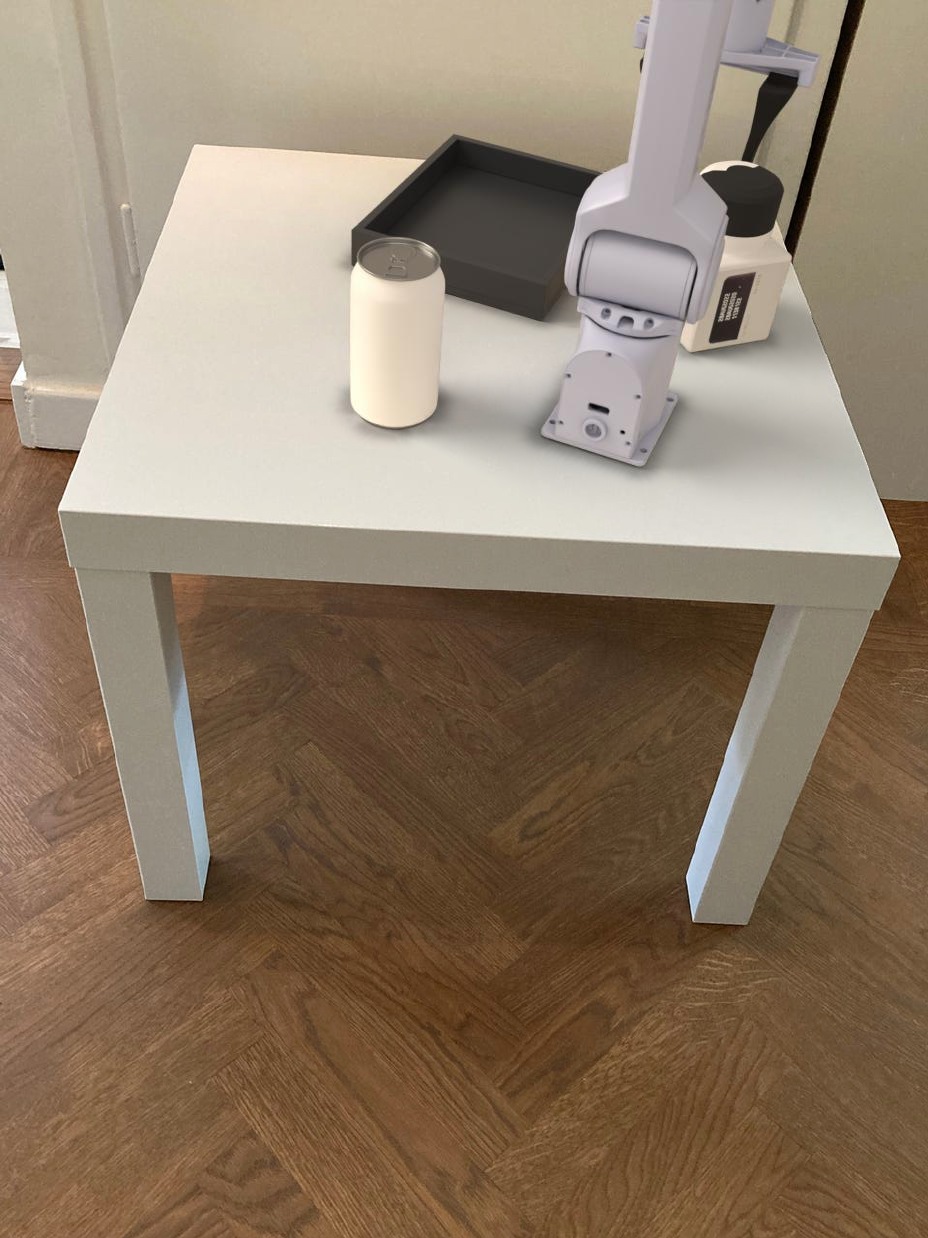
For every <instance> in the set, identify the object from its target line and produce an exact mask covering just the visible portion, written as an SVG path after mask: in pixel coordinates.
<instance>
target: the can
mask: <svg viewBox="0 0 928 1238" xmlns="http://www.w3.org/2000/svg"><path fill="white" fill-rule="evenodd" d="M440 263H441V259H440V256H439V254H438V252H437V251H436V250H435V249H434V248H433V247H431V246H430V245H428V244H426V243H424V242H421V241H418V240H415V239H411V238H404V237H386V238H380V239H376V240H373V241H370V242H368V243H366V244H365V245H363V246H362V247H361V248H360V250H359V251H358V253H357V263H356V265H355V266H353V269H352V271H351V275H350V290H349V291H350V297H349V298H350V299H349V300H350V302H349V303H350V304H349V305H350V306H349V308H350V309H349V311H350V313H349V318H350V319H349V321H350V322H349V323H350V324H349V337H350V338H349V343H350V344H349V350H350V351H349V360H350V361H349V368H350V369H349V370H350V371H349V372H350V374H349V379H350V382H349V384H350V390H349V391H350V392H349V393H350V404H351V406H352V409H353V410H354V412H355V413H356V414H358V416H359V417H361V419H363V420H364V421H366V422H367V423H369V424H371V425H374V426H376V427H380V428H384V429H396V430H397V429H398V430H399V429H408V428H412V427H415V426H418V425H419V424H422V423H423V422H425V421H427V420H428V418H430V417H431V416H433V414H434V412H436V409H437V406H438V399H439V386H440V374H441V373H440V372H441V357H442V344H443V331H444V330H443V329H444V313H445V312H444V311H445V297H446V293H445V278H444V275H443V272H442V270H441V268H440Z"/></svg>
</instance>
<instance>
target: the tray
mask: <svg viewBox="0 0 928 1238" xmlns="http://www.w3.org/2000/svg"><path fill="white" fill-rule="evenodd" d="M603 173H604V172H603V171H599V170H595V169H590V168H586V167H583V166H579V165H576V164H571V163H567V162H563V161H560V160H556V159H552V158H547V157H544V156H541V155H537V154H532V153H530V152H525V151H521V150H517V149H513V148H510V147H506V146H502V145H499V144H495V143H490V142H487V141H482V140H478V139H475V138H471V137H468V136H464V135H461V134H455V133H453V134H452V135H451V136H449V138H447V140H446V141H444V142H443V144H441V145H440V146H439V147H438V148H437V149H436V150H435V151H434V152H432V153H431V155H429V156H428V158H426V160H424V161H423V162H422V163H421V164H420V165H419V166H418V167H416V168H415V170H413V171H412V172H411V174H409V175H408V176H407V177H406V178H405V179H404V180H403V181H402V182H401V183H400V184H398V185H397V187H396V188H394V189H393V190H392V191H391V192H390V193H389V194H388V195H387V196H386V197H385V198H384V199H383V200H382V201H381V202H380V203H378V204H377V205H376V206H375V207H373V209H372V210H371V211H370V212H369V213H368V214H366V216H365V217H364V218H363V219H362V220H361V221H359V222H358V223H357V224H356V225H355V226H354V227H352V229H351V233H350V234H351V242H350V246H351V248H350V249H351V250H350V251H351V252H350V253H351V255H350V257H351V260H350V263H351V266H353V267H355V265H356V263H357V253H358V251H359V250H360V248H361V247H362V246H363V245H365V244H366V243H368V242H370V241H373V240H376V239H380V238H386V237H404V238H411V239H415V240H418V241H421V242H424V243H426V244H428V245H430V246H431V247H433V248H434V249H435V250H436V251H437V252H438V254H439V256H440V259H441V263H440V268H441V270H442V272H443V275H444V278H445V294H448V295H451V296H455V297H458V298H461V299H465V300H468V301H471V302H475V303H478V304H482V305H485V306H489V307H493V308H496V309H499V310H503V311H506V312H508V313H512V314H516V315H518V316H519V315H520V316H523V317H526V318H529V319H532V320H536V321H540V322H543V321H544V320H545V318H546V316H547V315H548V314H549V312H550V311H551V310H552V308H553V307H554V305H555V304H556V303H557V301H558V300H559V299H560V297H561V296H562V294H563V293H564V292H565V290H566V289H567V286H566V285H565V281H564V275H565V265H566V259H567V254H568V249H569V245H570V241H571V237H572V234H573V230H574V227H575V220H576V214H577V211H578V208H579V205H580V203H581V200H582V198H583V196H584V194H585V192H586V190H587V189H588V187H589V186H590V185H591V184H592V182H593V181H594V179H595V178H597V177H598V176H599V175H601V174H603Z"/></svg>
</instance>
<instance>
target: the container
mask: <svg viewBox="0 0 928 1238" xmlns="http://www.w3.org/2000/svg"><path fill="white" fill-rule="evenodd" d="M699 174H700V175H701V176H702V178H703V179H704V180H705V181H706V182H707V183H708V185H709V186H710V187H711V188H712V189H713V190H714V191H715V192H716V193H717V194H718V196H719V197H720V198H721V199H722V200H723V202H724V203H725V204H726V206H727V212H726V215H727V216H728V218H729V220H728V224H727V228H726V233H725V237H724V239H725V247H724V251H723V255H722V259H721V263H720V267H719V271H718V275H717V278H716V282H715V285H714V289H713V292H712V295H711V299H710V302H709V305H708V308H707V311H706V314H705V316H704V318H703V319H701V320H699V321H697V322H696V324H694V325H692V324H689V323H685V325H684V328H683V332H682V336H681V340H680V344H681V345H682V347H683V348H684V349H685V350H686V351H687V352H688V353H695V352H701V351H706V350H713V349H717V348H718V349H719V348H724V347H731V346H736V345H740V344H741V345H742V344H746V343H753V342H759V341H764V340H766V339H768V337H769V335H770V331H771V329H772V325H773V322H774V318H775V316H776V312H777V309H778V306H779V302H780V299H781V296H782V293H783V290H784V286H785V283H786V279H787V276H788V273H789V270H790V266H791V263H792V259H793V256H792V254H791V253H790V252H788V251H787V249H785V248H784V247H783V246H782V245H781V244H780V243H779V242H778V241H777V240H775V239H774V238H773V237H772V235H773V232H774V228H775V225H776V222H777V218H778V214H779V211H780V208H781V204H782V200H783V197H784V194H785V187H784V185H783V183H782V180H781V179H780V177H779V176H777V174H776V173H774V172H772V171H771V170H769V169H767V168H765V167H763V166H761V165H759V164H756V163H754V162H753V163H749V162H744V161H741V160H725V161H718V162H714V163H711V164H709V165H708V166H706V167H705V168H703V170H701V172H699ZM686 322H687V320H686Z"/></svg>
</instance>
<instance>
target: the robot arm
mask: <svg viewBox="0 0 928 1238" xmlns="http://www.w3.org/2000/svg"><path fill="white" fill-rule="evenodd" d="M775 4H776V0H652V3H651V9H650V15H648V14H643V15H641V16H640V18H638V19H637V21H635V28H634V33H633V38H632V44H631V46H632V48H635V49H639V50H644V52H643V56H642V57H641V58H640V60H639V72H640V79H639V86H638V93H637V99H636V105H635V112H634V117H633V118H634V119H633V126H632V131H631V138H630V144H629V150H628V157H627V162H625V163H622V164H621V165H618V166H616V167H613V168H612V169H610V170H607V171H606V172H602V173H603V174H601V175H599V176H598V177H597V178H595V179H594V181H593V182H592V184H591V185H590V186H589V187H588V189H587V190H586V192H585V194H584V196H583V198H582V200H581V203H580V205H579V208H578V211H577V214H576V220H575V227H574V230H573V234H572V237H571V241H570V245H569V249H568V254H567V259H566V265H565V275H564V281H565V285H566V286H567V287H566V289H567V290H568V294H569V295H570V296H573V297H578V300H577V307H576V312H577V313H579V314H581V316H580V321H579V326H578V327H579V328H578V334H577V339H576V345H575V349H574V351H573V353H572V354H571V356H570V357H569V359H568V360H567V362H566V364H565V367H564V370H563V374H562V380H561V386H560V392H559V399H558V402H557V404H556V405H555V407H554V408H553V410H552V411H551V413H550V414H549V416H548V417H547V419H546V420H545V422H544V424H543V425H542V427H541V428H540V429H541V430H540V434H541V436H543V437H545V438H547V439H550V440H554V441H557V442H559V443H563V444H565V445H569V446H572V447H575V448H579V449H581V450H584V451H588V452H591V453H594V454H598V455H601V456H604V457H607V458H609V459H610V458H611V459H612V460H613V459H614V460H617V461H619V462H623V463H626V464H629V465H631V466H636V467H644V466H645V465H646V464H647V461H648V460H649V457H650V456H651V454H652V452H653V450H654V448H655V446H656V444H657V443H658V440H659V439H660V437H661V435H662V432H663V430H664V429H665V427H666V424H667V423H668V421H669V419H670V417H671V415H672V413H673V411H674V410H675V407H676V406H677V403H678V401H679V396H678V394H676V393H674V392H671V391H669V389H670V384H671V381H672V378H673V377H672V376H673V373H674V369H675V364H676V360H677V356H678V351H679V347H680V344H681V343H680V340H681V336H682V332H683V328H684V325H685V323H689V324H692V325H694V324H696V322H697V321H699V320H701V319H703V318H704V316H705V314H706V311H707V308H708V305H709V302H710V299H711V295H712V292H713V289H714V285H715V282H716V278H717V275H718V271H719V267H720V263H721V259H722V255H723V251H724V247H725V239H724V237H725V233H726V228H727V224H728V220H729V218H728V216H727V215H726V212H727V206H726V204H725V203H724V202H723V200H722V199H721V198H720V197H719V196H718V194H717V193H716V192H715V191H714V190H713V189H712V188H711V187H710V186H709V185H708V183H707V182H706V181H705V180H704V179H703V178H702V176H701V175H700V172H699V165H700V161H701V156H702V151H703V147H704V146H703V145H704V142H705V138H706V137H705V136H706V132H707V128H708V125H709V124H708V123H709V118H710V114H711V109H712V105H713V100H714V95H715V90H716V85H717V80H718V75H719V71H720V67H721V66H726V67H730V68H734V69H739V70H744V71H747V72H751V73H757V74H759V75H764V76H767V77H766V78H765V80H764V81H763V82H762V84H761V85H760V86H759V88H758V92H757V96H756V98H757V99H756V102H755V109H754V113H753V118H752V123H751V127H750V132H749V135H748V138H747V141H746V144H745V147H744V150H743V154H742V155H741V159H740V161H744V162H749V163H753V164H754V160H755V157H756V155H757V152H758V150H759V148H760V145H761V143H762V141H763V139H764V137H765V135H766V133H767V132H768V129H769V128H770V127H771V125H772V124H773V122H774V121H775V119H776V118H777V117H778V116H779V114H780V112H782V110H783V109H784V108H785V106H786V105H787V104H788V102H789V101H790V100H791V99H792V97H793V95H794V93H796V90H797V88H799V87H800V88H806V89H811V88H812V86H813V84H814V83H815V81H816V77H817V74H818V71H819V68H820V64H821V60H822V54H819V53H816V52H811V51H808V50H805V49H802V48H799V47H796V46H794V45H791V44H789V43H786V42H783V41H781V40H778V39H775V38H772V37H770V36H768V32H769V29H770V25H771V20H772V16H773V13H774V9H775V6H776V5H775ZM686 320H687V322H686Z"/></svg>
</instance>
